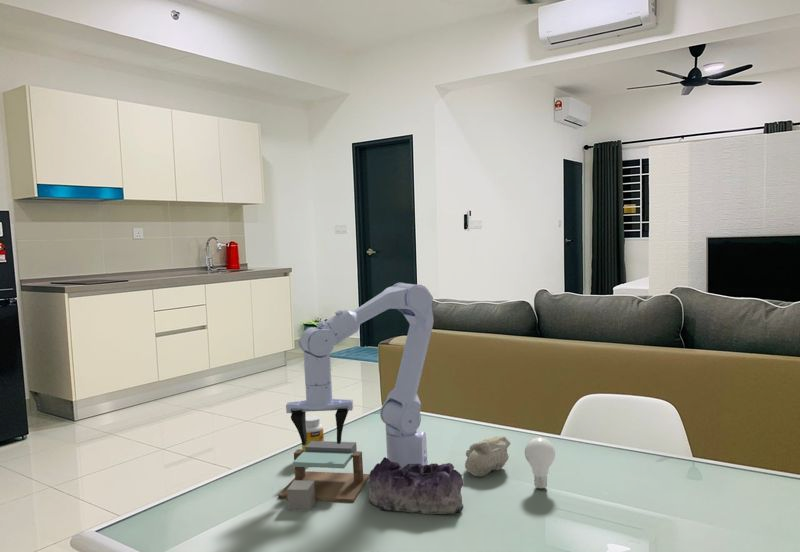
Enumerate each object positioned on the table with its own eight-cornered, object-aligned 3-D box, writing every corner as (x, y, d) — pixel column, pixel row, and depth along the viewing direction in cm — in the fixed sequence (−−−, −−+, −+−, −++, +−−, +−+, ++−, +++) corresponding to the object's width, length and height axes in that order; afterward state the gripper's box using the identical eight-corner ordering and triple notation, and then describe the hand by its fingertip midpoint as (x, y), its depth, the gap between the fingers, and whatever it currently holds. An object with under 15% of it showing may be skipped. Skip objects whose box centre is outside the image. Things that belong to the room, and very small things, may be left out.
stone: (315, 501, 125) (314, 480, 125) (309, 511, 121) (308, 489, 120) (295, 500, 126) (294, 480, 125) (288, 510, 121) (286, 489, 121)
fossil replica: (456, 478, 134) (498, 488, 129) (456, 444, 132) (498, 453, 128) (475, 455, 144) (514, 464, 140) (475, 423, 143) (515, 431, 138)
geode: (361, 518, 117) (358, 467, 117) (374, 500, 128) (371, 453, 129) (464, 518, 113) (460, 465, 114) (467, 498, 125) (464, 451, 126)
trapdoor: (358, 451, 137) (357, 442, 137) (344, 469, 126) (344, 459, 126) (310, 449, 139) (309, 440, 139) (293, 467, 129) (292, 457, 129)
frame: (369, 476, 136) (368, 447, 136) (353, 502, 124) (352, 469, 123) (300, 473, 140) (299, 444, 139) (278, 498, 127) (276, 466, 127)
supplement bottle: (311, 463, 146) (308, 423, 145) (298, 458, 150) (296, 418, 149) (329, 456, 150) (327, 417, 149) (316, 451, 154) (314, 413, 153)
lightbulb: (558, 484, 128) (557, 434, 127) (553, 496, 122) (551, 444, 121) (529, 480, 130) (527, 431, 129) (522, 492, 124) (521, 441, 124)
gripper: (353, 376, 133) (356, 435, 134) (289, 379, 133) (292, 437, 134) (350, 384, 126) (353, 446, 127) (282, 387, 126) (286, 449, 127)
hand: (321, 442), depth 130 cm, fingers open, 7 cm apart
